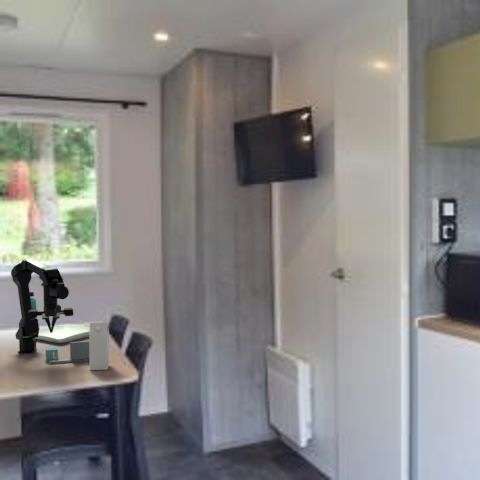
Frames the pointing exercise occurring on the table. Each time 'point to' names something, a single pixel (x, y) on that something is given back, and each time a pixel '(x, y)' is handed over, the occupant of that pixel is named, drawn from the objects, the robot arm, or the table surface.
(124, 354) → the table surface
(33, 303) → the beverage bottle
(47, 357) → the cube
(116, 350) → the table surface
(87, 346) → the screen
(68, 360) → the rail
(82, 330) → the square plate
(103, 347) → the milk carton
